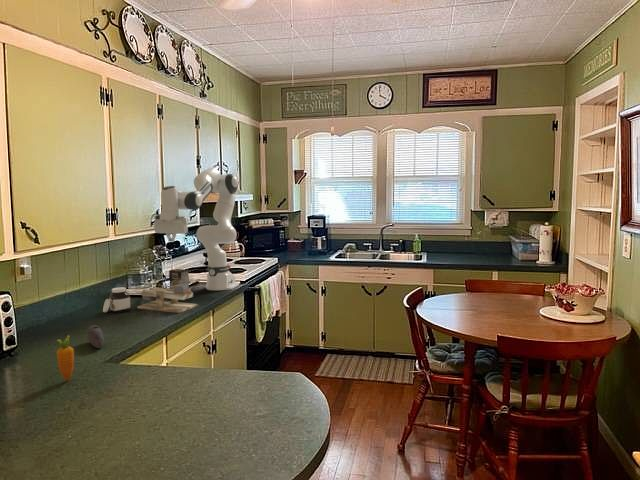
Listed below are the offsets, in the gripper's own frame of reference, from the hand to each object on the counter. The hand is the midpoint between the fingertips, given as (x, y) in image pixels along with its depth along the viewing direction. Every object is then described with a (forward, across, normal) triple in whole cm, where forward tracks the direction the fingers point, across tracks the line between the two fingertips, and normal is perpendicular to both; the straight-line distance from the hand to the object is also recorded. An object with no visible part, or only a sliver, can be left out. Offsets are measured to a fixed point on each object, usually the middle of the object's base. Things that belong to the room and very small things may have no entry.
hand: (171, 241), depth 261 cm
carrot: (+34, -40, +101) cm, 114 cm away
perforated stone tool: (+34, -20, +71) cm, 81 cm away
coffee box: (+33, +2, -7) cm, 34 cm away
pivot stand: (+33, -6, +12) cm, 36 cm away
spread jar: (+33, +14, +28) cm, 46 cm away
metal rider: (+25, -15, +12) cm, 32 cm away
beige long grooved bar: (+29, -5, +12) cm, 32 cm away
